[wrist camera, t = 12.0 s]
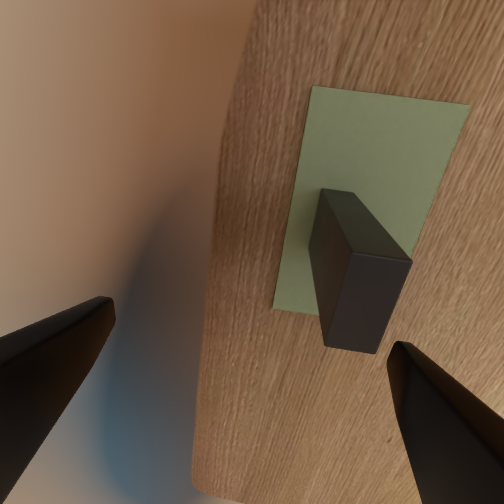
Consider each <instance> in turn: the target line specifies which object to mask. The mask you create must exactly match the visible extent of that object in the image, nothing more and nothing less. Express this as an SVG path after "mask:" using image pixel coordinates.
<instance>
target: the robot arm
mask: <svg viewBox="0 0 504 504" xmlns="http://www.w3.org/2000/svg"><path fill="white" fill-rule="evenodd" d="M115 320H116V317H115V309H114V302H113V299H112V298H110V297H104V296H98V297H95V298H93V299H90V300H88V301H86V302H83V303H81V304H79V305H76V306H74V307H72V308H69V309H67V310H64V311H62V312H60V313H57V314H55V315H52V316H50V317H48V318H45V319H43V320H41V321H38V322H36V323H34V324H31V325H29V326H26V327H24V328H22V329H19V330H17V331H15V332H12V333H10V334H7V335H5V336H2V337H0V504H3V502H4V501H5V499H6V498H7V496H8V495H9V493H10V491H11V490H12V489H13V487H14V485H15V484H16V482H17V481H18V479H19V478H20V476H21V475H22V473H23V472H24V470H25V469H26V467H27V466H28V464H29V463H30V461H31V460H32V458H33V457H34V455H35V454H36V452H37V451H38V449H39V447H40V446H41V444H42V443H43V441H44V440H45V438H46V437H47V435H48V434H49V432H50V430H51V429H52V427H53V426H54V425H55V423H56V422H57V420H58V419H59V417H60V416H61V414H62V412H63V411H64V409H65V408H66V406H67V405H68V403H69V402H70V400H71V399H72V397H73V396H74V394H75V393H76V391H77V390H78V388H79V387H80V385H81V384H82V382H83V381H84V379H85V378H86V376H87V375H88V373H89V371H90V370H91V368H92V367H93V365H94V363H95V361H96V359H97V357H98V355H99V353H100V352H101V350H102V348H103V346H104V344H105V342H106V340H107V338H108V336H109V334H110V332H111V330H112V328H113V326H114V324H115ZM387 371H388V377H389V382H390V387H391V393H392V398H393V403H394V408H395V413H396V417H397V421H398V424H399V428H400V431H401V434H402V438H403V441H404V444H405V448H406V451H407V454H408V458H409V461H410V464H411V468H412V471H413V474H414V477H415V481H416V484H417V487H418V491H419V494H420V497H421V501H422V504H504V419H503V418H502V417H500V416H499V415H498V414H497V413H496V412H494V411H493V410H492V409H491V408H489V407H488V406H487V405H486V404H485V403H483V402H482V401H481V400H480V399H479V398H477V397H476V396H475V395H474V394H472V393H471V392H470V391H469V390H468V389H466V388H465V387H464V386H463V385H462V384H460V383H459V382H458V381H457V380H455V379H454V378H453V377H452V376H451V375H449V374H448V373H447V372H446V371H445V370H443V369H442V368H441V367H440V366H438V365H437V364H436V363H435V362H434V361H432V360H431V359H430V358H429V357H427V356H426V355H425V354H424V353H423V352H421V351H420V350H419V349H418V348H417V347H415V346H414V345H413V344H412V343H409V342H404V341H396V342H395V343H394V345H393V347H392V350H391V352H390V354H389V357H388V359H387Z"/></svg>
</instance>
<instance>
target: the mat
mask: <svg viewBox="0 0 504 504" xmlns="http://www.w3.org/2000/svg"><path fill="white" fill-rule="evenodd" d="M469 108H470V105H465V104H457V103H449V102H441V101H433V100H425V99H417V98H409V97H401V96H393V95H385V94H377V93H369V92H361V91H353V90H345V89H337V88H329V87H321V86H312V89H311V94H310V100H309V106H308V111H307V117H306V122H305V128H304V133H303V139H302V144H301V150H300V156H299V161H298V167H297V172H296V178H295V183H294V189H293V195H292V200H291V206H290V211H289V217H288V222H287V228H286V233H285V239H284V245H283V250H282V256H281V261H280V267H279V272H278V278H277V283H276V289H275V295H274V300H273V306H272V308H273V309H279V310H285V311H291V312H298V313H304V314H310V315H317V316H319V311H318V305H317V299H316V293H315V287H314V281H313V275H312V269H311V263H310V257H309V250H308V246H309V242H310V237H311V233H312V228H313V224H314V219H315V215H316V210H317V205H318V201H319V196H320V192H321V189H322V188H325V189H332V190H340V191H347V192H354V193H355V194H356V195H357V197H358V198H359V199H360V200H361V201H362V202H363V204H364V205H365V206H366V207H367V208H368V209H369V211H370V212H371V213H372V214H373V215H374V216H375V218H376V219H377V220H378V221H379V222H380V223H381V225H382V226H383V227H384V228H385V229H386V230H387V232H388V233H389V234H390V235H391V236H392V237H393V239H394V240H395V241H396V242H397V243H398V244H399V246H400V247H401V248H402V249H403V250H404V251H405V253H406V254H407V255H408V256H409V257H411V254H412V252H413V249H414V247H415V244H416V242H417V239H418V237H419V234H420V232H421V229H422V227H423V224H424V222H425V219H426V217H427V214H428V212H429V209H430V207H431V204H432V202H433V199H434V196H435V194H436V191H437V189H438V186H439V184H440V181H441V179H442V176H443V174H444V171H445V169H446V166H447V164H448V161H449V159H450V156H451V154H452V151H453V149H454V146H455V144H456V141H457V139H458V136H459V134H460V131H461V129H462V126H463V123H464V121H465V118H466V116H467V113H468V111H469Z"/></svg>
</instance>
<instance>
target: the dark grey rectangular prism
mask: <svg viewBox="0 0 504 504" xmlns="http://www.w3.org/2000/svg"><path fill="white" fill-rule="evenodd" d="M308 250H309V257H310V263H311V269H312V275H313V281H314V287H315V293H316V299H317V305H318V311H319V318H320V324H321V330H322V336H323V342H324V346H326V347H332V348H338V349H344V350H350V351H356V352H363V353H369V354H376V352H377V350H378V347H379V345H380V342H381V340H382V337H383V335H384V332H385V330H386V327H387V325H388V322H389V320H390V317H391V315H392V312H393V310H394V307H395V305H396V302H397V300H398V298H399V295H400V293H401V290H402V288H403V285H404V283H405V280H406V278H407V275H408V273H409V270H410V268H411V265H412V260H411V258H410V257H409V256H408V255H407V254H406V253H405V251H404V250H403V249H402V248H401V247H400V246H399V244H398V243H397V242H396V241H395V240H394V239H393V237H392V236H391V235H390V234H389V233H388V232H387V230H386V229H385V228H384V227H383V226H382V225H381V223H380V222H379V221H378V220H377V219H376V218H375V216H374V215H373V214H372V213H371V212H370V211H369V209H368V208H367V207H366V206H365V205H364V204H363V202H362V201H361V200H360V199H359V198H358V197H357V195H356V194H355V193H354V192H347V191H340V190H332V189H325V188H322V189H321V192H320V196H319V201H318V205H317V210H316V215H315V219H314V224H313V228H312V233H311V237H310V242H309V246H308Z"/></svg>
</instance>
